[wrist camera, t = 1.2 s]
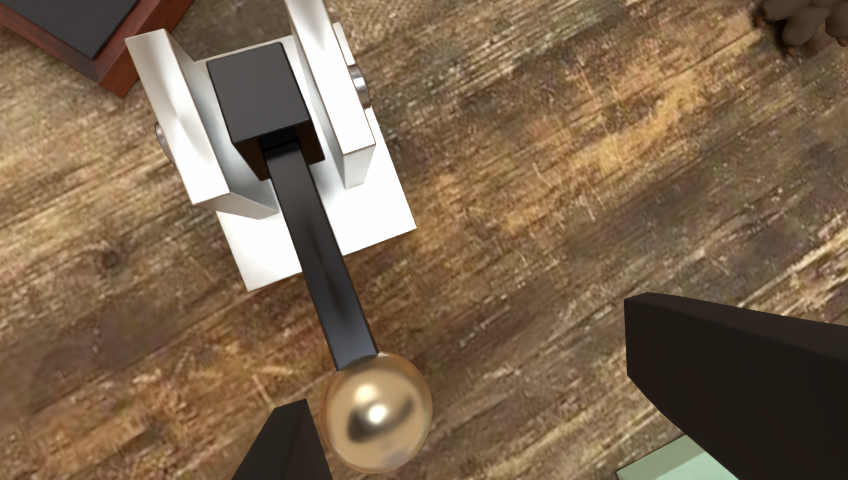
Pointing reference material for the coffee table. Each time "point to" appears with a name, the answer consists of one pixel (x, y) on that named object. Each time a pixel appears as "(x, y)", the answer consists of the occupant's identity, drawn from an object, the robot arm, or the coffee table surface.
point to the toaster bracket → (256, 200)
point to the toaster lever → (322, 266)
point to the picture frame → (92, 32)
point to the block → (676, 464)
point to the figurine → (806, 20)
